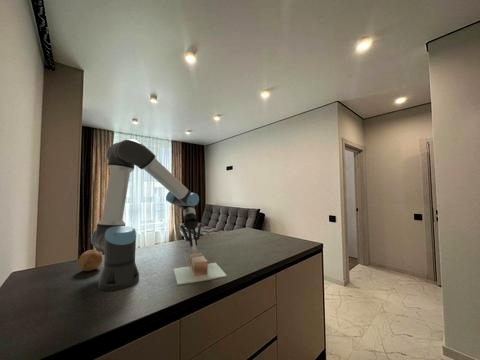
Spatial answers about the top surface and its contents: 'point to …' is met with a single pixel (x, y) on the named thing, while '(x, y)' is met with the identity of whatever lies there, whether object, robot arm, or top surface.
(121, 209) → the robot arm
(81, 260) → the onion
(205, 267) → the wood block
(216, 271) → the rubber mat
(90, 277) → the top surface
